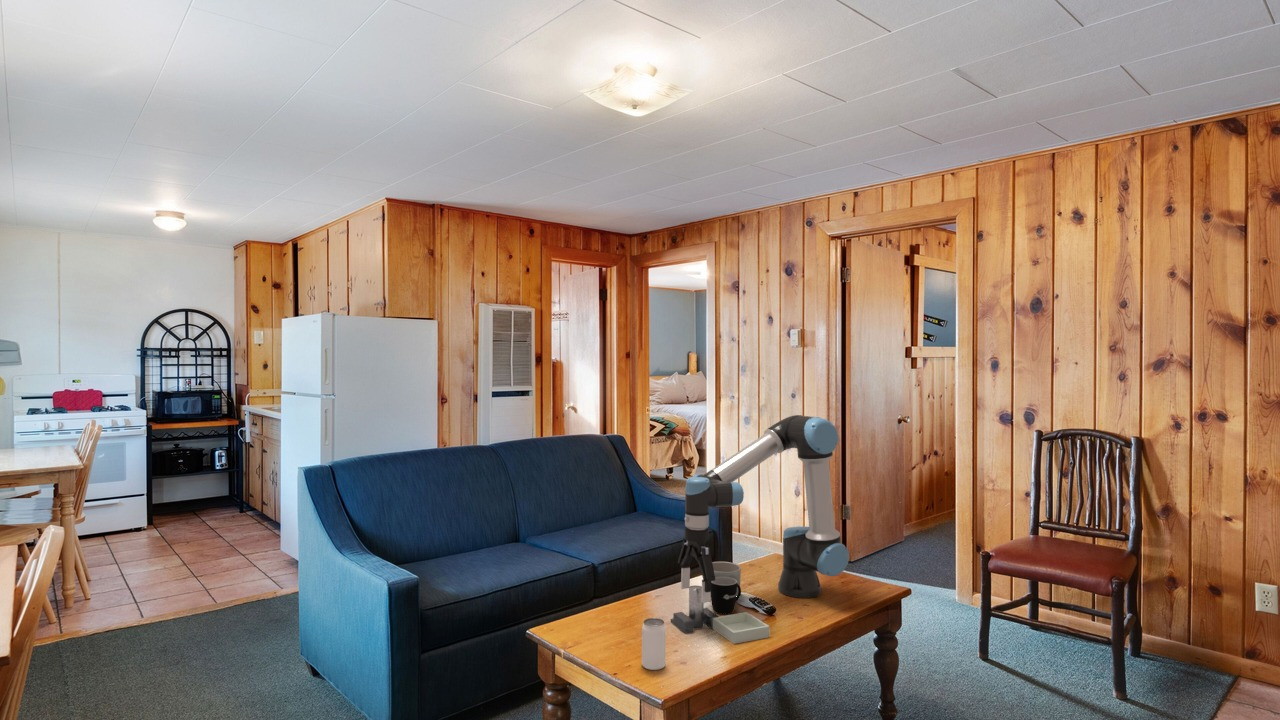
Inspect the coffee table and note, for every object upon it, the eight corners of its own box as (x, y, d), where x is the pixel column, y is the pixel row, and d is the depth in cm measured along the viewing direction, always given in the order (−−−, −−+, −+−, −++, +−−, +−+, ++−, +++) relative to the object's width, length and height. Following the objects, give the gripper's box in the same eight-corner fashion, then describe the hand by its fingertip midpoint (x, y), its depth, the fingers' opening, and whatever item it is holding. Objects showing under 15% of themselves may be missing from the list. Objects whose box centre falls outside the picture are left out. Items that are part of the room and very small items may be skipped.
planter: (740, 605, 234) (740, 573, 234) (703, 602, 236) (704, 571, 236) (741, 592, 246) (741, 562, 246) (706, 590, 249) (706, 560, 249)
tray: (746, 622, 219) (746, 612, 219) (769, 637, 207) (769, 626, 207) (712, 628, 214) (712, 617, 214) (733, 643, 202) (733, 632, 202)
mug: (721, 618, 222) (722, 586, 222) (704, 609, 230) (704, 579, 230) (749, 610, 229) (749, 580, 229) (731, 602, 236) (731, 573, 236)
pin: (699, 622, 219) (699, 584, 219) (706, 627, 214) (706, 589, 214) (686, 624, 217) (686, 586, 217) (693, 629, 213) (693, 591, 213)
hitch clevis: (703, 616, 223) (703, 605, 223) (719, 627, 214) (719, 616, 214) (670, 622, 219) (670, 611, 219) (685, 633, 210) (685, 622, 209)
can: (651, 673, 183) (651, 628, 183) (637, 664, 188) (637, 620, 188) (670, 666, 187) (670, 622, 187) (655, 658, 192) (656, 615, 192)
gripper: (668, 519, 225) (667, 584, 225) (705, 537, 203) (704, 609, 202) (688, 517, 228) (687, 581, 228) (727, 535, 206) (726, 606, 206)
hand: (695, 594), depth 215 cm, fingers open, 13 cm apart
